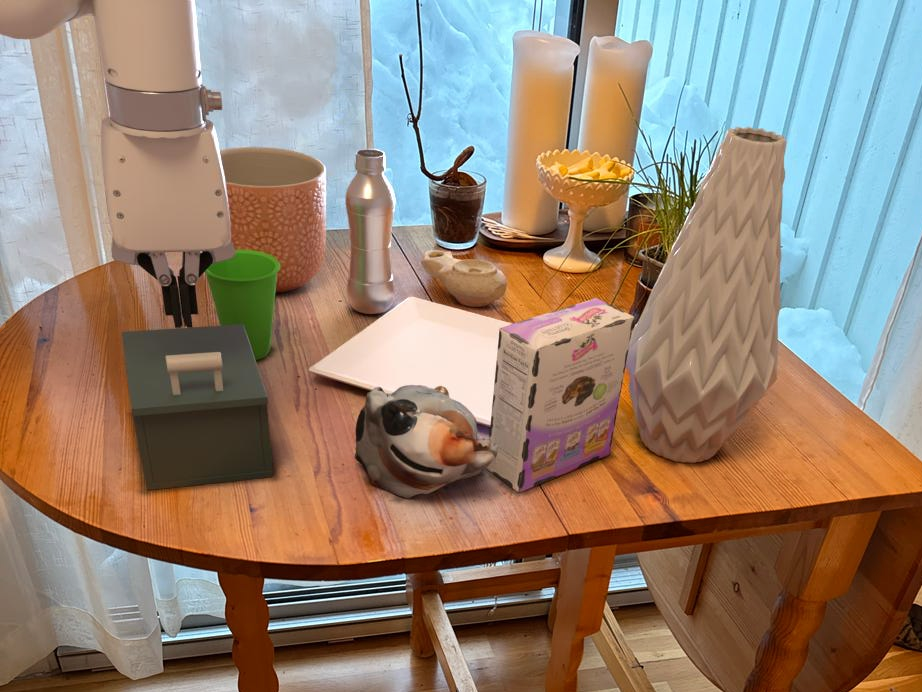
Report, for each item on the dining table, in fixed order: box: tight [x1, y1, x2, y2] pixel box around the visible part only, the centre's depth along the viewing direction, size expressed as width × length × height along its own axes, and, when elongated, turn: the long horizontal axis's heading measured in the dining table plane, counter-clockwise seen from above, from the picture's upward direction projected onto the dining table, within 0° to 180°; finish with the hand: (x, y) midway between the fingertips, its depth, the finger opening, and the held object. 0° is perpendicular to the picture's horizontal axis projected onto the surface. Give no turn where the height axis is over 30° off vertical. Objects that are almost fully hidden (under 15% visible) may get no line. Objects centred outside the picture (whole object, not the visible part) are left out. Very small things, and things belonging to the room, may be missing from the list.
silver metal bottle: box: [344, 148, 396, 315], centre depth 124 cm, size 6×7×20 cm
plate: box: [308, 296, 513, 428], centre depth 119 cm, size 26×26×2 cm
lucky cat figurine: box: [354, 385, 498, 499], centre depth 96 cm, size 15×12×14 cm
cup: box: [204, 250, 280, 361], centre depth 115 cm, size 9×9×11 cm
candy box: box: [485, 297, 635, 493], centre depth 99 cm, size 14×6×16 cm, turn 130°
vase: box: [625, 126, 787, 464], centre depth 99 cm, size 17×17×33 cm
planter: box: [220, 146, 327, 294], centre depth 131 cm, size 17×17×15 cm
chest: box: [132, 404, 274, 491], centre depth 99 cm, size 16×13×9 cm
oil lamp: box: [421, 249, 508, 308], centre depth 135 cm, size 11×14×5 cm
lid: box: [121, 324, 269, 417], centre depth 95 cm, size 16×13×5 cm
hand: (182, 321), depth 90 cm, fingers closed
